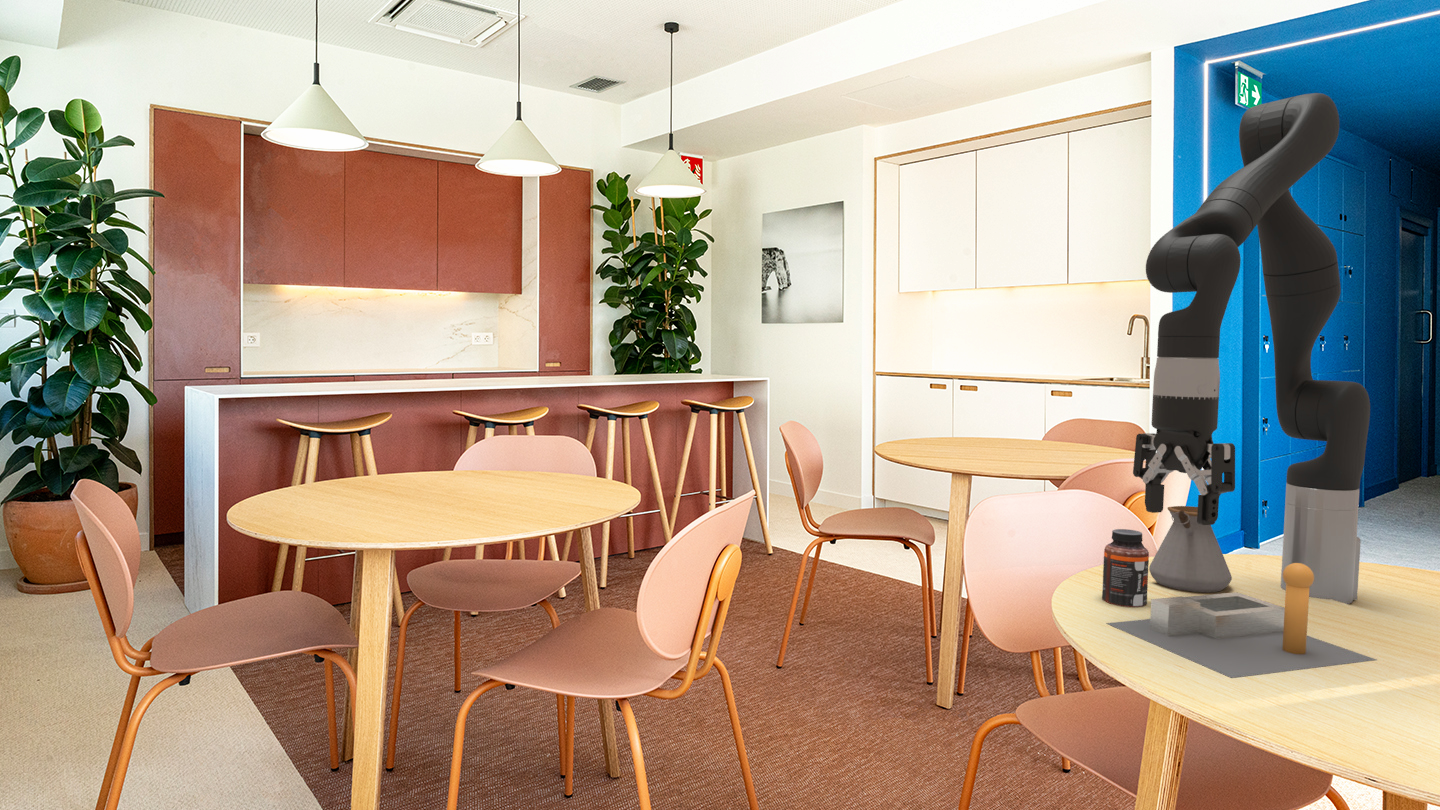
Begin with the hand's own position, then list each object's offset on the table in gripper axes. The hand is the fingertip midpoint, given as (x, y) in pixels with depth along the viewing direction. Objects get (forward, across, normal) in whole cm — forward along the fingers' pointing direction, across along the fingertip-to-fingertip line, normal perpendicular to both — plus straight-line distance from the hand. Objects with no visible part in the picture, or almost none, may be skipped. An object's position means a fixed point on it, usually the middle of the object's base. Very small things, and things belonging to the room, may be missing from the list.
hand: (1179, 518), depth 114 cm
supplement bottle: (+16, +13, -4) cm, 21 cm away
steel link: (+15, 0, -6) cm, 16 cm away
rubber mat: (+16, -5, -5) cm, 17 cm away
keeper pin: (+16, -10, -9) cm, 21 cm away
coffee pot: (+16, +15, -17) cm, 28 cm away
